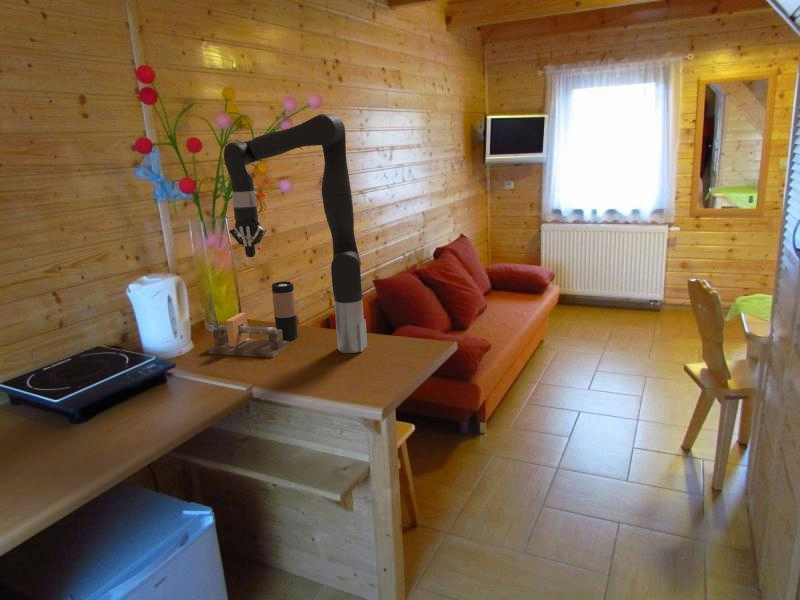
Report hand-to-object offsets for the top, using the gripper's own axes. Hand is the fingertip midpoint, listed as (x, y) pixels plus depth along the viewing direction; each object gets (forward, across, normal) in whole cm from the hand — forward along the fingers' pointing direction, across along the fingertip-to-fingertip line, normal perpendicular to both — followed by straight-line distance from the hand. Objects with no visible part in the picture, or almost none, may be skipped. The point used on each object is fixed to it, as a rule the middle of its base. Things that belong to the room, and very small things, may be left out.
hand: (250, 256), depth 190 cm
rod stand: (+31, +1, +6) cm, 32 cm away
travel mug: (+31, -7, -7) cm, 33 cm away
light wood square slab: (+29, +5, +6) cm, 29 cm away
